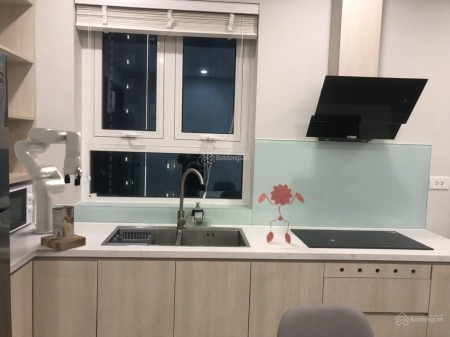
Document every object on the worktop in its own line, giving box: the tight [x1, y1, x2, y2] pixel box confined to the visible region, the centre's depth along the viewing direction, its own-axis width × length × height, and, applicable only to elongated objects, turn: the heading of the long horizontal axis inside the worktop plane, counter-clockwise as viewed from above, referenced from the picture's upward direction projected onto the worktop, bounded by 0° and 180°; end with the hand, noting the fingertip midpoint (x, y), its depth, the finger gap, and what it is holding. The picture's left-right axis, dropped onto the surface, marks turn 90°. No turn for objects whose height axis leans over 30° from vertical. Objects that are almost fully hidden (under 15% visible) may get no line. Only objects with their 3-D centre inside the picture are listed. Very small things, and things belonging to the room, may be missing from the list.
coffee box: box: [51, 205, 75, 240], centre depth 181 cm, size 9×6×16 cm
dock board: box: [40, 233, 87, 252], centre depth 182 cm, size 18×14×4 cm
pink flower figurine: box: [257, 183, 305, 245], centre depth 195 cm, size 15×26×35 cm, turn 85°
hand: (72, 184), depth 192 cm, fingers open, 9 cm apart
